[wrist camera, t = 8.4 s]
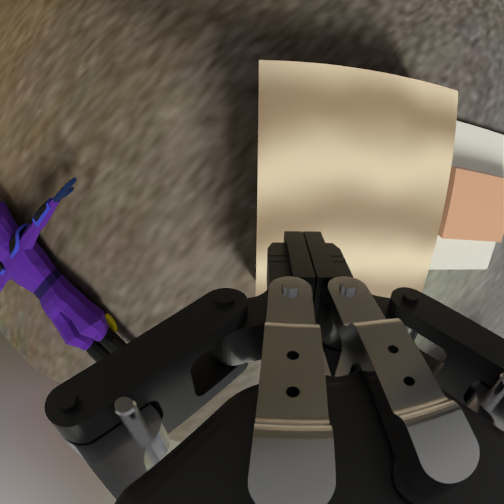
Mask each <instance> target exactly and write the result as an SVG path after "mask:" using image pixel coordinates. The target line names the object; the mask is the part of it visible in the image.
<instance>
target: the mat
mask: <svg viewBox="0 0 504 504" xmlns="http://www.w3.org/2000/svg"><path fill="white" fill-rule="evenodd" d="M452 165H453V166H458V167H463V168H468V169H472V170H477V171H482V172H486V173H490V174H495V175H499V176H503V177H504V135H502V134H499V133H496V132H493V131H490V130H487V129H484V128H480V127H477V126H474V125H470V124H467V123H463V122H460V121H456V131H455V141H454V150H453V157H452ZM494 246H495V242H491V241H476V240H459V239H442V238H441V237H440V236H439V235H438V236H437V240H436V244H435V248H434V252H433V256H432V259H431V263H430V266H429V269H487V267H488V264H489V262H490V258H491V255H492V252H493V249H494Z"/></svg>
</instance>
